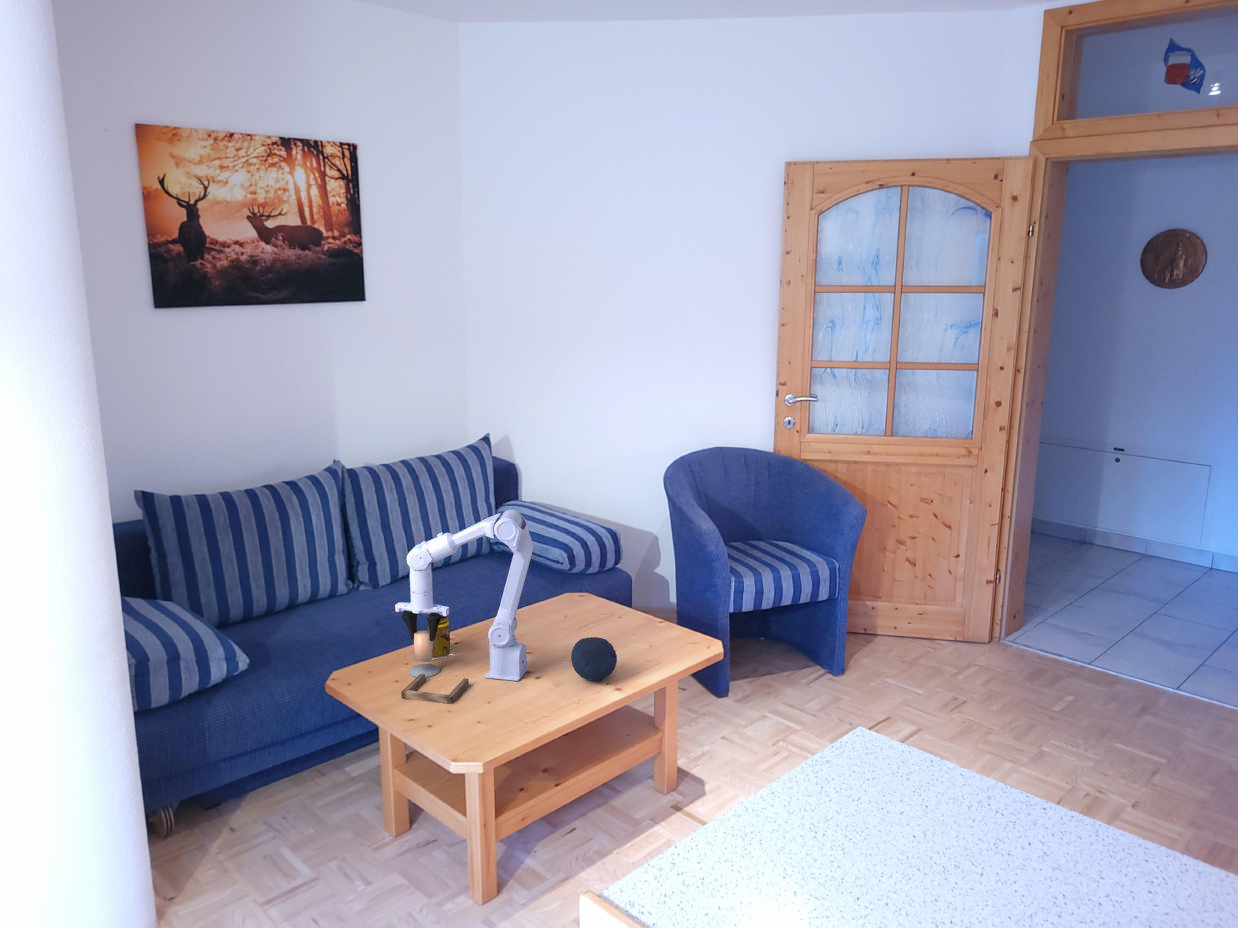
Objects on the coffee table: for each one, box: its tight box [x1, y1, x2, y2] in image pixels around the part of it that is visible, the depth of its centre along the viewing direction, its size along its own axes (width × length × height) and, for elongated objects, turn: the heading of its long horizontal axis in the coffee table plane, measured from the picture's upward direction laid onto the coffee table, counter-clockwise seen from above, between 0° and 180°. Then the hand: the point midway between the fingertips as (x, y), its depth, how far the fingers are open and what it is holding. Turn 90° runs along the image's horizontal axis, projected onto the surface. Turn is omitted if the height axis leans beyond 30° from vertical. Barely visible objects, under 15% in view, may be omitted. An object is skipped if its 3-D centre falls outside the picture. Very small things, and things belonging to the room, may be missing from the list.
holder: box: [400, 674, 470, 705], centre depth 238 cm, size 13×11×2 cm
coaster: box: [408, 663, 441, 679], centre depth 250 cm, size 8×8×1 cm
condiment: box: [427, 614, 456, 661], centre depth 261 cm, size 7×8×12 cm
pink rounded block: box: [413, 629, 433, 663], centre depth 249 cm, size 7×5×7 cm
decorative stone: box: [570, 636, 618, 682], centre depth 246 cm, size 12×12×10 cm
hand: (423, 638), depth 248 cm, fingers closed on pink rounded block, 5 cm apart
